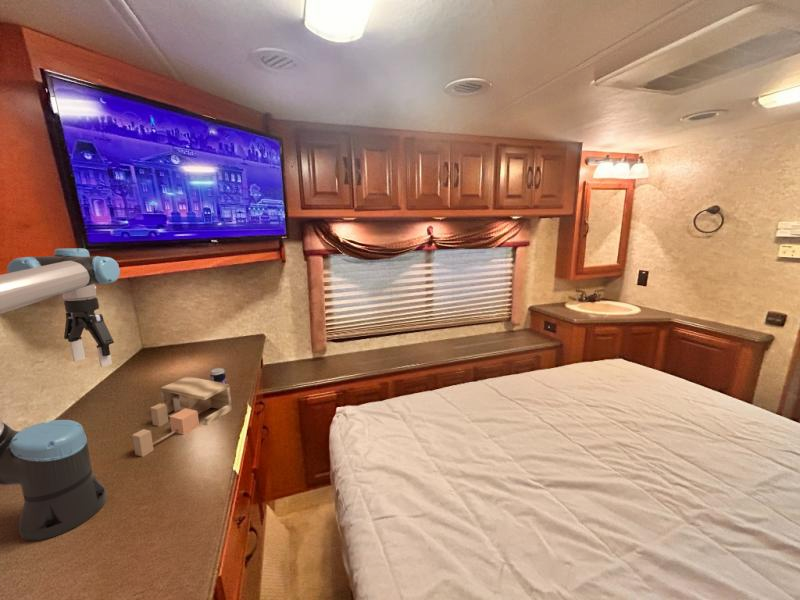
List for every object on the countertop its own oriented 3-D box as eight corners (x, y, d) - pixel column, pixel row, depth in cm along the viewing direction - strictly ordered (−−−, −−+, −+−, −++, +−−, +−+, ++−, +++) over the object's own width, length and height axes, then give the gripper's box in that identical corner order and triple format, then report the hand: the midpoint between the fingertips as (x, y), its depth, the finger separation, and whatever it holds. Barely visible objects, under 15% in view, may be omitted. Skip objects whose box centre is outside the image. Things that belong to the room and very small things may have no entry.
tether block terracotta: (145, 457, 100) (142, 437, 99) (132, 453, 102) (129, 434, 101) (199, 425, 118) (197, 408, 116) (187, 422, 120) (185, 405, 118)
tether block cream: (161, 427, 117) (159, 409, 115) (150, 424, 118) (147, 407, 117) (199, 407, 131) (197, 391, 129) (188, 404, 133) (186, 389, 131)
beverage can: (220, 399, 137) (218, 373, 135) (209, 397, 138) (206, 372, 136) (230, 393, 143) (227, 368, 141) (219, 391, 144) (216, 367, 142)
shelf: (207, 424, 118) (204, 397, 116) (164, 413, 125) (160, 387, 123) (231, 409, 129) (229, 384, 127) (190, 400, 136) (187, 376, 134)
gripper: (121, 298, 98) (131, 363, 102) (71, 294, 106) (82, 354, 110) (91, 303, 91) (103, 372, 95) (40, 297, 99) (54, 361, 103)
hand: (92, 362), depth 102 cm, fingers open, 13 cm apart
